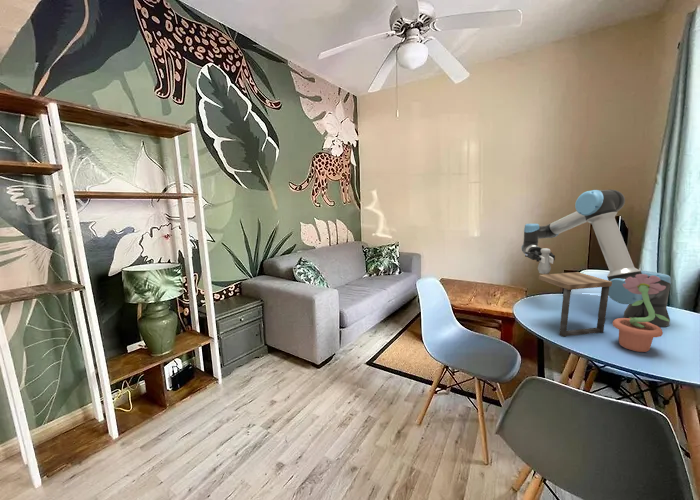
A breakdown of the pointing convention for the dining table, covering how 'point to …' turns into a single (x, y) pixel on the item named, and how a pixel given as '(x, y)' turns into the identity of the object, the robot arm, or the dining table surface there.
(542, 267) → the salt shaker
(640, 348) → the decorative flower
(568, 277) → the wooden side table
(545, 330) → the dining table surface
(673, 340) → the dining table surface
